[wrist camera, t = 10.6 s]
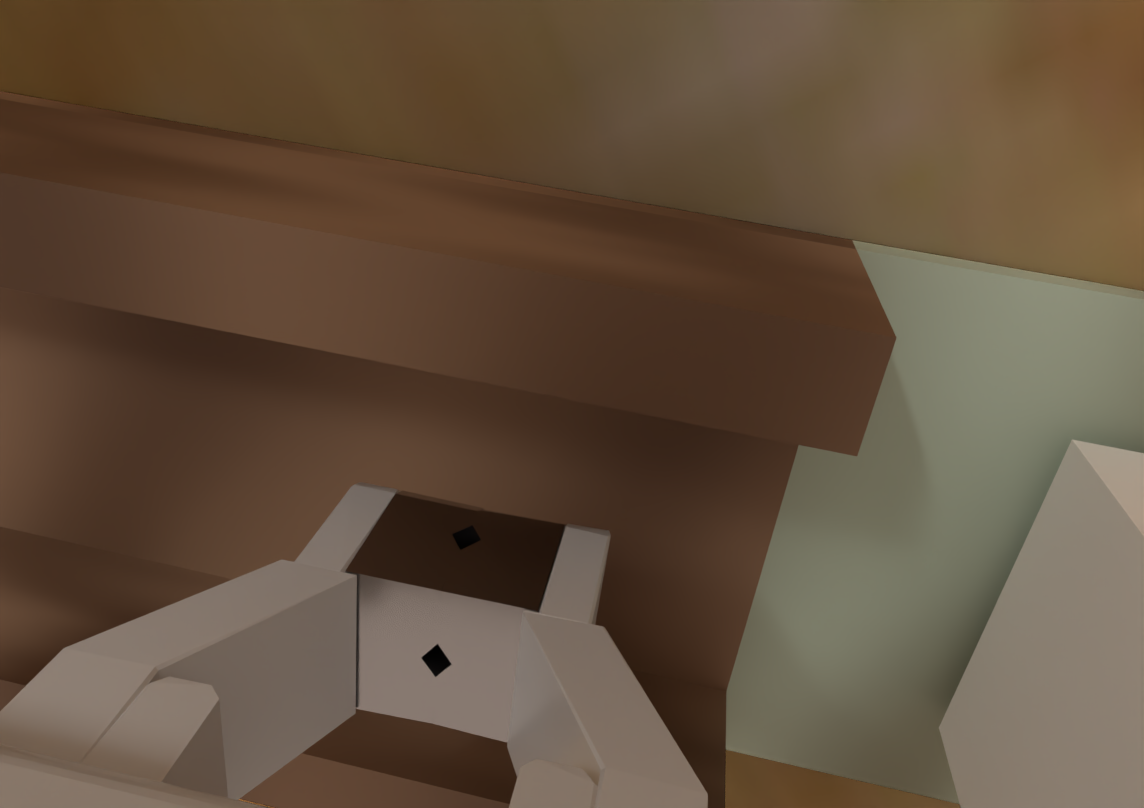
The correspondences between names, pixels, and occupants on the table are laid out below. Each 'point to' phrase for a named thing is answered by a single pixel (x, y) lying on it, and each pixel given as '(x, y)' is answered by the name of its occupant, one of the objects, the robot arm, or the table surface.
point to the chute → (531, 427)
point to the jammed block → (1062, 653)
